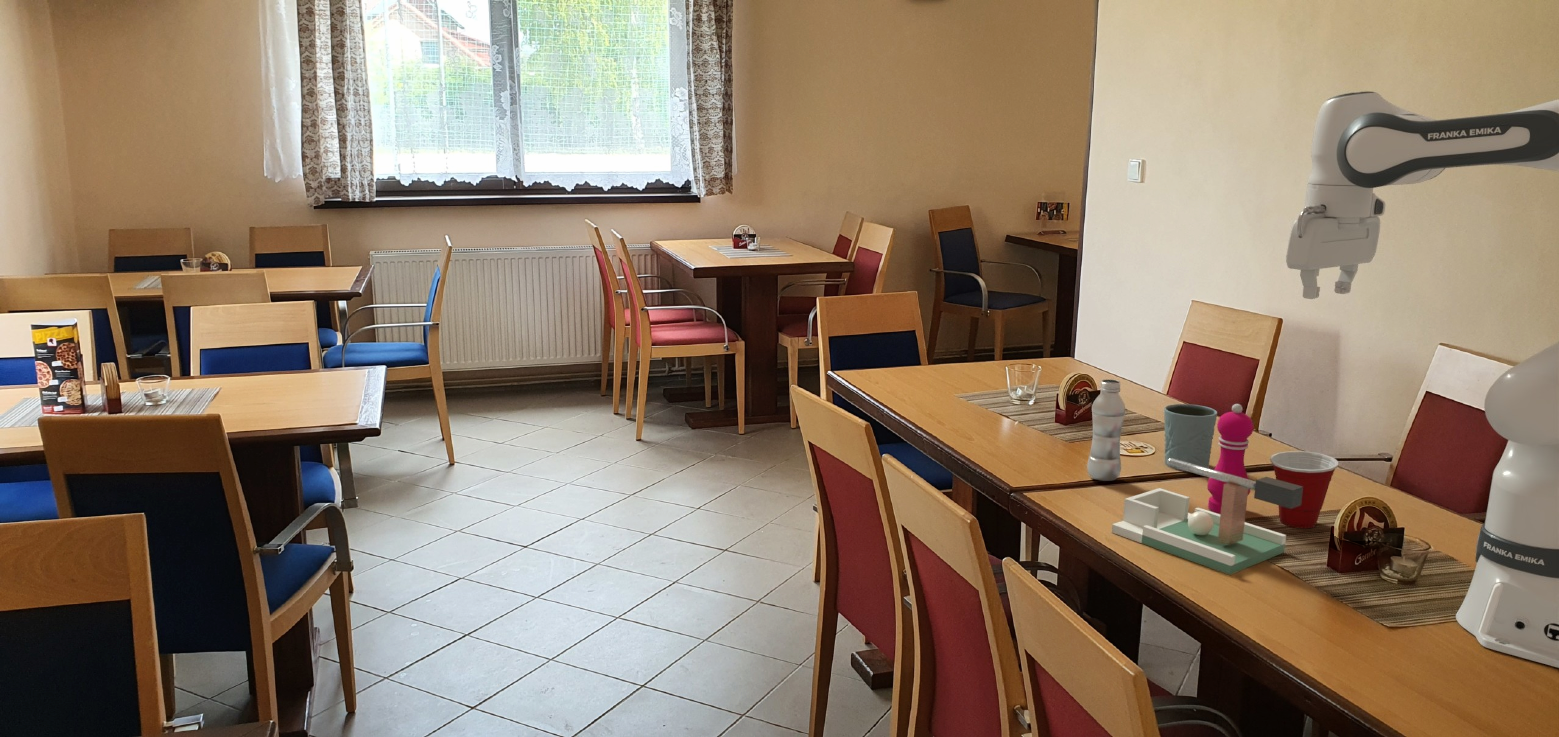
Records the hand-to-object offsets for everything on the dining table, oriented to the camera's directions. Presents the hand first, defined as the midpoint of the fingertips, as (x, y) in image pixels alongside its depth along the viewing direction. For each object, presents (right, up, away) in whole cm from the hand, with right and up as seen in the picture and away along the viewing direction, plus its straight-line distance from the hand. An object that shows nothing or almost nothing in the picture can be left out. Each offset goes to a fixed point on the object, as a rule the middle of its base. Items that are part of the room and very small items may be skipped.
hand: (1326, 295), depth 163 cm
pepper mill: (-2, -37, +33) cm, 50 cm away
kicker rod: (-11, -39, +13) cm, 42 cm away
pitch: (-13, -40, +17) cm, 46 cm away
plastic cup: (+8, -39, +27) cm, 48 cm away
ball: (-13, -37, +16) cm, 42 cm away
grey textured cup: (+1, -31, +59) cm, 67 cm away
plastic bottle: (-19, -33, +49) cm, 63 cm away
